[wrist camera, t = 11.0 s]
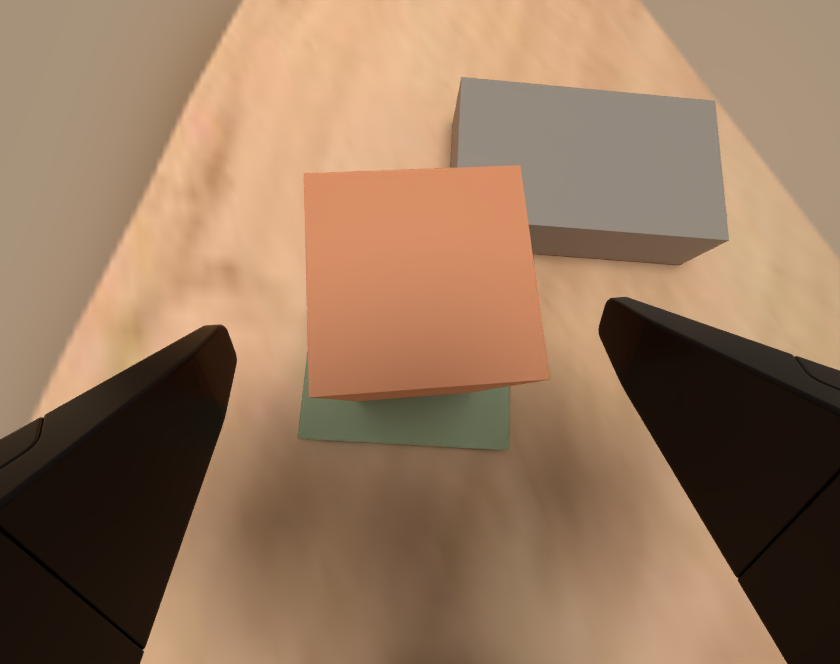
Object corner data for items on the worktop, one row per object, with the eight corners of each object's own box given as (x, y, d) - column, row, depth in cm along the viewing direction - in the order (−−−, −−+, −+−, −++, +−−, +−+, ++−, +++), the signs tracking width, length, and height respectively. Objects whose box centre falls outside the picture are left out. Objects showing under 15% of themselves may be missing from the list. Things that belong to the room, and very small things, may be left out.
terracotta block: (471, 392, 17) (550, 378, 8) (357, 401, 17) (308, 397, 8) (460, 283, 18) (520, 165, 9) (352, 290, 18) (303, 173, 9)
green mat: (502, 447, 18) (508, 450, 17) (303, 436, 17) (297, 438, 16) (505, 261, 19) (511, 253, 18) (324, 247, 19) (320, 238, 18)
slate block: (679, 264, 20) (729, 240, 17) (446, 247, 19) (455, 218, 16) (670, 143, 21) (714, 100, 18) (452, 123, 21) (461, 77, 18)
